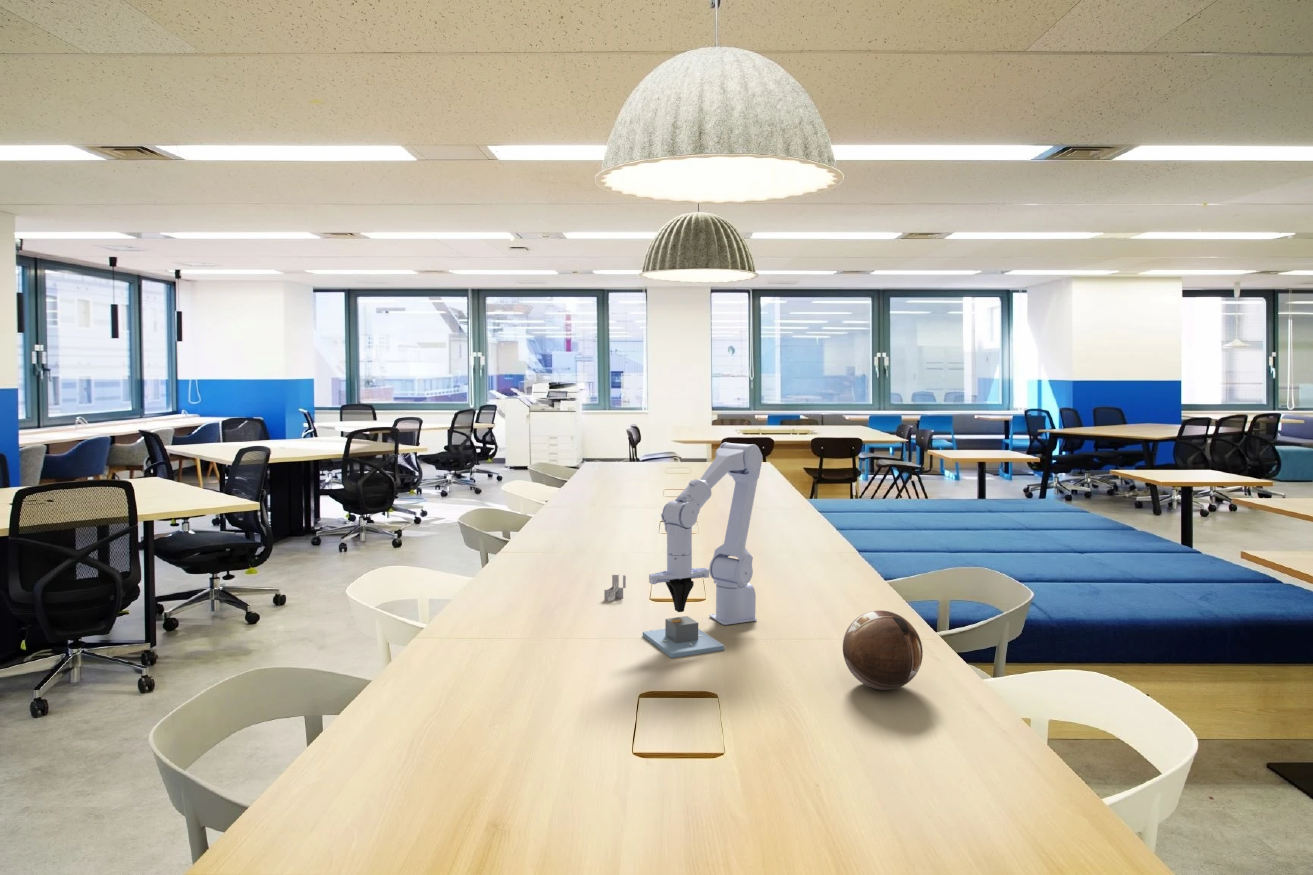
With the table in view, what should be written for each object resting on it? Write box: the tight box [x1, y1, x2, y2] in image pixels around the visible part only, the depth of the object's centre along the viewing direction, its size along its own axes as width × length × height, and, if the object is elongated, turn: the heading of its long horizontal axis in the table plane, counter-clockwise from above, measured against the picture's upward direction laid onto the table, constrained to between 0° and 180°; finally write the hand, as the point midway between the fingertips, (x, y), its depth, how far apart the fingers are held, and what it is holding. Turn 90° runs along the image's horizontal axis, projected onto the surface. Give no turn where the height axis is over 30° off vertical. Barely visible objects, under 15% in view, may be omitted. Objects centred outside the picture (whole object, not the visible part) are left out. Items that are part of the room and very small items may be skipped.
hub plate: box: [642, 628, 725, 659], centre depth 183 cm, size 13×16×4 cm
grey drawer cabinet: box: [664, 615, 699, 643], centre depth 183 cm, size 6×6×4 cm
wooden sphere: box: [842, 610, 924, 691], centre depth 157 cm, size 15×15×15 cm
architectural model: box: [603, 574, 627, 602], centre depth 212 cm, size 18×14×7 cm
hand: (679, 610), depth 186 cm, fingers closed
